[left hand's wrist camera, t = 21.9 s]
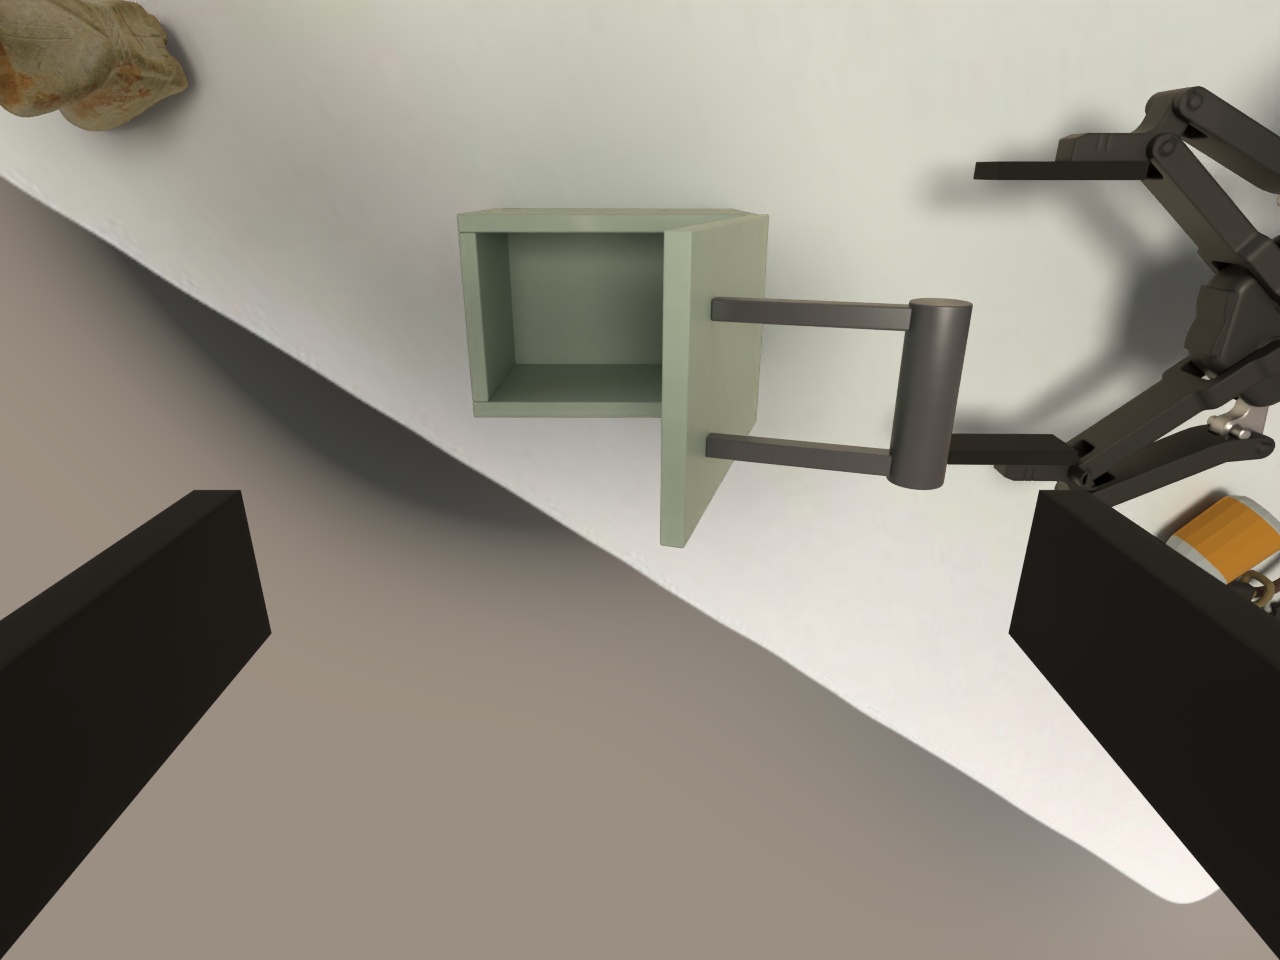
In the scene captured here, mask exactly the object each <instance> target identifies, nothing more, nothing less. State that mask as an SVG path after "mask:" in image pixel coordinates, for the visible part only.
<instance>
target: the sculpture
mask: <svg viewBox="0 0 1280 960" xmlns="http://www.w3.org/2000/svg"><path fill="white" fill-rule="evenodd" d="M167 41H168V38H167V35H166V33H165V31H164V30H163V28H162V26H161V25H160V23H159V21H158V20H157V18H156V17H155V16H153V15H150V14H147V12H146V11H145V10H144V8H143V7H142V6H141V5H139V4H137V3H134V2H130V1H123V0H0V105H1V106H2V107H3V108H4V109H5V110H7V111H8V112H10V113H12V114H14V115H16V116H20V117H34V116H39V115H42V114H46V113H49V112H53V111H55V110H57V109H59V110H60V111H61V113H62V115H63V116H64V117H65V118H66V119H67V120H68V121H69V122H70V123H72V124H74V125H75V126H77V127H79V128H82V129H84V130H88V131H103V130H108V129H112V128H115V127H118V126H120V125H122V124H124V123H126V122H128V121H130V120H132V119H133V118H135V117H136V116H138V115H139V114H141V113H143V112H144V111H146V110H147V109H148V108H150V107H151V106H152V105H154V104H155V103H157V102H158V101H160V100H162V99H164V98H166V97H169V96H171V95H173V94H179V93H181V92H183V91H184V90H185V89H186V88H187V87H188V81H187V78H186V75H185V73H184V70H183V68H182V66H181V64H180V62H179V61H178V60H177V59H175V58H174V57H173V56H171V55H170V54H169V52H168V51H167V49H166V47H165V45H166V43H167Z"/></svg>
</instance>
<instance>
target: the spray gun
mask: <svg viewBox="0 0 1280 960" xmlns="http://www.w3.org/2000/svg"><path fill="white" fill-rule="evenodd" d="M1166 544H1167V545H1168V546H1170V547H1171V548H1173V549H1174V550H1176V551H1177V552H1179V553H1180V554H1182V555H1183V556H1185V557H1186V558H1187V559H1189V560H1190V561H1192V562H1193V563H1195V564H1196V565H1198V566H1199V567H1201V568H1202V569H1204V570H1205V571H1207V572H1208V573H1210V574H1211V575H1213V576H1214V577H1216V578H1217V579H1219V580H1220V581H1222V582H1223V583H1225V584H1226V585H1228V586H1229V587H1230V588H1232V589H1233V590H1235V591H1236V592H1238V593H1239V594H1241V595H1242V596H1244V597H1245V598H1247V599H1248V600H1250V601H1251V600H1252V599H1253V598H1258V597H1260V598H1259V599H1258V600H1257V601H1255V602H1253V603H1254V604H1256V605H1257V606H1259V607H1260V608H1261V607H1263V606H1264V605H1266V604H1267V603H1268V602H1269V601H1270V600H1271V599H1272V597H1273V595H1274V594H1275V593H1277V592H1279V591H1280V578H1279V579H1277V580H1275V581H1273V582H1271V581H1270V580H1269V579H1268V578H1267V577H1266V576H1264V575H1262V574H1260V573H1258V572H1256V571H1254V570H1250V569H1251V568H1253V567H1254V566H1256V565H1257V564H1259V563H1260V562H1262V561H1263V560H1265V559H1266V558H1268V557H1269V556H1271V555H1272V554H1274V553H1275V552H1277V551H1278V550H1280V522H1279V521H1278V520H1277V519H1276V518H1275V517H1274V516H1273V515H1272V514H1270V513H1269V512H1268V511H1267V510H1266V509H1264V508H1263V507H1262V506H1260V505H1259V504H1258V503H1256V502H1255V501H1253V500H1252V499H1250V498H1248V497H1245V496H1232V495H1227V496H1224V497H1223V498H1222V499H1220V500H1219V501H1218V502H1216V503H1215V504H1214V505H1212V506H1211V507H1209V508H1208V509H1207V510H1205V511H1204V512H1203V513H1201V514H1200V515H1199V516H1197V517H1196V518H1195V519H1193V520H1192V521H1190V522H1189V523H1188V524H1186V525H1185V526H1184V527H1182V528H1181V529H1180V530H1178V531H1177V532H1176V533H1174V534H1173V535H1172V536H1171V537H1170V538H1169V540H1168V541H1167V542H1166ZM1248 570H1249V571H1248ZM1242 574H1243V575H1242ZM1241 575H1242V577H1241V579H1240V581H1239V582H1235V581H1233V580H1234V579H1236V578H1237V577H1239V576H1241ZM1252 577H1253V578H1255V579H1257V580H1258V581H1260V582H1261V583H1262V584H1263V585H1265V586H1261V587H1253V586H1251V585H1250V584H1249V581H1250V579H1251V578H1252ZM1271 615H1272V616H1274V617H1275V618H1276V619H1278V620H1279V621H1280V605H1278V604H1276V605H1274V606H1273V611H1272V612H1271Z"/></svg>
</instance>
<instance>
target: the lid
mask: <svg viewBox="0 0 1280 960" xmlns="http://www.w3.org/2000/svg"><path fill="white" fill-rule="evenodd" d="M768 225H769V215H756V214H752V215H747V216H741V217H736V218H731V219H725V220H720V221H714V222H709V223H703V224H698V225H692V226H687V227H681V228H676V229H671V230H666V231H664V270H663V350H662V430H661V510H660V544H661V545H663V546H670V547H678V548H684V547H685V545H686V543H687V541H688V540H689V538H690V536H691V534H692V533H693V531H694V529H695V527H696V526H697V524H698V522H699V520H700V519H701V517H702V515H703V513H704V512H705V510H706V508H707V506H708V505H709V503H710V501H711V499H712V498H713V496H714V494H715V492H716V490H717V489H718V487H719V485H720V483H721V482H722V480H723V478H724V476H725V475H726V473H727V471H728V469H729V468H730V466H731V464H732V462H733V461H734V460H738V461H747V462H757V463H766V464H776V465H786V466H795V467H805V468H814V469H824V470H834V471H843V472H853V473H862V474H872V475H881V476H886V477H887V479H888V481H890V482H891V483H893V484H895V485H898V486H901V487H904V488H909V489H916V490H931V489H936V488H939V487H941V486H942V485H943V483H944V478H945V472H946V465H947V459H948V453H949V447H950V441H951V435H952V429H953V423H954V417H955V411H956V405H957V398H958V392H959V386H960V380H961V374H962V368H963V362H964V356H965V350H966V344H967V338H968V332H969V325H970V319H971V313H972V307H973V305H972V303H970V302H967V301H962V300H955V299H943V298H920V299H913V300H910V302H909V305H906V304H882V303H858V302H835V301H811V300H788V299H764V290H765V274H766V257H767V241H768ZM762 324H778V325H797V326H816V327H836V328H855V329H874V330H894V331H905V337H904V345H903V352H902V360H901V367H900V375H899V382H898V390H897V398H896V405H895V413H894V420H893V428H892V435H891V443H890V449H879V448H868V447H858V446H847V445H837V444H826V443H816V442H805V441H795V440H784V439H773V438H763V437H752V436H748V434H749V433H750V431H751V429H752V427H753V426H754V424H755V422H756V419H757V403H758V387H759V371H760V355H761V338H762Z"/></svg>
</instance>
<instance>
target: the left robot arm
mask: <svg viewBox="0 0 1280 960" xmlns="http://www.w3.org/2000/svg"><path fill="white" fill-rule="evenodd" d="M270 634H271V629H270V624H269V620H268V615H267V610H266V606H265V601H264V597H263V592H262V587H261V582H260V578H259V573H258V568H257V564H256V559H255V555H254V550H253V545H252V541H251V536H250V531H249V527H248V522H247V517H246V513H245V508H244V503H243V499H242V494H241V490H193V491H192V492H190V493H189V494H188V495H186V496H185V497H183V498H182V499H180V500H179V501H177V502H176V503H174V504H173V505H171V506H170V507H168V508H167V509H165V510H164V511H162V512H161V513H159V514H158V515H156V516H155V517H153V518H152V519H150V520H149V521H147V522H146V523H145V524H143V525H141V526H140V527H139V528H137V529H136V530H134V531H133V532H131V533H130V534H128V535H127V536H125V537H124V538H122V539H121V540H119V541H118V542H116V543H115V544H113V545H112V546H110V547H109V548H107V549H106V550H104V551H103V552H102V553H100V554H99V555H97V556H96V557H94V558H93V559H91V560H90V561H88V562H87V563H85V564H84V565H82V566H81V567H79V568H78V569H76V570H75V571H73V572H72V573H70V574H69V575H67V576H66V577H64V578H63V579H61V580H60V581H58V582H57V583H55V584H54V585H53V586H51V587H49V588H48V589H47V590H45V591H44V592H42V593H41V594H39V595H38V596H36V597H35V598H33V599H32V600H30V601H29V602H27V603H26V604H24V605H23V606H21V607H20V608H18V609H17V610H15V611H14V612H12V613H11V614H9V615H8V616H7V617H5V618H4V619H2V620H1V621H0V960H1V958H2V957H3V956H4V955H5V954H6V952H7V951H8V950H9V949H10V948H11V946H12V945H13V944H14V943H15V942H16V940H17V939H18V938H19V937H20V935H21V934H22V933H23V932H24V931H25V929H26V928H27V927H28V926H29V925H30V923H31V922H32V921H33V920H34V919H35V917H36V916H37V915H38V914H39V913H40V911H41V910H42V909H43V908H44V907H45V905H46V904H47V903H48V902H49V901H50V899H51V898H52V897H53V896H54V895H55V893H56V892H57V891H58V890H59V889H60V887H61V886H62V885H63V884H64V883H65V881H66V880H67V879H68V878H69V877H70V875H71V874H72V873H73V872H74V871H75V869H76V868H77V867H78V866H79V864H80V863H81V862H82V861H83V860H84V858H85V857H86V856H87V855H88V854H89V852H90V851H91V850H92V849H93V848H94V846H95V845H96V844H97V843H98V842H99V840H100V839H101V838H102V837H103V836H104V834H105V833H106V832H107V831H108V830H109V828H110V827H111V826H112V825H113V824H114V822H115V821H116V820H117V819H118V818H119V816H120V815H121V814H122V813H123V812H124V810H125V809H126V808H127V807H128V805H129V804H130V803H131V802H132V801H133V799H134V798H135V797H136V796H137V795H138V793H139V792H140V791H141V790H142V789H143V787H144V786H145V785H146V784H147V782H148V781H149V780H150V779H151V778H152V777H153V775H154V774H155V773H156V772H157V771H158V769H159V768H160V767H161V766H162V765H163V763H164V762H165V761H166V760H167V759H168V757H169V756H170V755H171V754H172V752H173V751H174V750H175V749H176V748H177V746H178V745H179V744H180V743H181V742H182V740H183V739H184V738H185V737H186V736H187V734H188V733H189V732H190V731H191V730H192V728H193V727H194V726H195V725H196V724H197V722H198V721H199V720H200V719H201V718H202V716H203V715H204V714H205V713H206V711H207V710H208V709H209V708H210V707H211V706H212V704H213V703H214V702H215V701H216V700H217V698H218V697H219V696H220V695H221V693H222V692H223V691H224V690H225V689H226V687H227V686H228V685H229V684H230V683H231V681H232V680H233V679H234V678H235V677H236V675H237V674H238V673H239V672H240V670H241V669H242V668H243V667H244V666H245V665H246V663H247V662H248V661H249V660H250V658H251V657H252V656H253V655H254V654H255V652H256V651H257V650H258V649H259V648H260V647H261V645H262V644H263V643H264V642H265V640H266V639H267V638H268V637H269V636H270ZM1009 634H1010V636H1011V637H1012V638H1013V639H1014V640H1015V642H1016V643H1017V644H1018V645H1019V647H1020V648H1021V649H1022V650H1023V651H1024V653H1025V654H1026V655H1027V656H1028V657H1029V659H1030V660H1031V661H1032V662H1033V663H1034V665H1035V666H1036V667H1037V668H1038V669H1039V671H1040V672H1041V673H1042V674H1043V675H1044V677H1045V678H1046V679H1047V680H1048V681H1049V683H1050V684H1051V685H1052V686H1053V687H1054V689H1055V690H1056V691H1057V692H1058V693H1059V695H1060V696H1061V697H1062V698H1063V700H1064V701H1065V702H1066V703H1067V704H1068V706H1069V707H1070V708H1071V709H1072V710H1073V712H1074V713H1075V714H1076V715H1077V716H1078V718H1079V719H1080V720H1081V721H1082V722H1083V724H1084V725H1085V726H1086V727H1087V728H1088V730H1089V731H1090V732H1091V733H1092V734H1093V736H1094V737H1095V738H1096V739H1097V740H1098V742H1099V743H1100V744H1101V745H1102V746H1103V748H1104V749H1105V750H1106V751H1107V753H1108V754H1109V755H1110V756H1111V757H1112V759H1113V760H1114V761H1115V762H1116V763H1117V765H1118V766H1119V767H1120V768H1121V769H1122V771H1123V772H1124V773H1125V774H1126V775H1127V777H1128V778H1129V779H1130V780H1131V781H1132V783H1133V784H1134V785H1135V786H1136V787H1137V789H1138V790H1139V791H1140V792H1141V793H1142V795H1143V796H1144V797H1145V798H1146V799H1147V801H1148V802H1149V803H1150V804H1151V805H1152V807H1153V808H1154V809H1155V810H1156V812H1157V813H1158V814H1159V815H1160V816H1161V818H1162V819H1163V820H1164V821H1165V822H1166V824H1167V825H1168V826H1169V827H1170V828H1171V830H1172V831H1173V832H1174V833H1175V834H1176V836H1177V837H1178V838H1179V839H1180V840H1181V842H1182V843H1183V844H1184V845H1185V846H1186V848H1187V849H1188V850H1189V851H1190V852H1191V854H1192V855H1193V856H1194V857H1195V858H1196V860H1197V861H1198V862H1199V863H1200V865H1201V866H1202V867H1203V868H1204V869H1205V871H1206V872H1207V873H1208V874H1209V875H1210V877H1211V878H1212V879H1213V880H1214V881H1215V883H1216V884H1217V885H1218V886H1219V887H1220V889H1221V890H1222V891H1223V892H1224V893H1225V895H1226V896H1227V897H1228V898H1229V899H1230V901H1231V902H1232V903H1233V904H1234V905H1235V907H1236V908H1237V909H1238V910H1239V911H1240V913H1241V914H1242V915H1243V916H1244V917H1245V919H1246V920H1247V921H1248V922H1249V923H1250V925H1251V926H1252V927H1253V928H1254V930H1255V931H1256V932H1257V933H1258V934H1259V936H1260V937H1261V938H1262V939H1263V940H1264V942H1265V943H1266V944H1267V945H1268V946H1269V948H1270V949H1271V950H1272V951H1273V952H1274V954H1275V955H1276V956H1277V957H1278V958H1279V960H1280V621H1279V620H1278V619H1276V618H1275V617H1274V616H1272V615H1271V614H1269V613H1268V612H1266V611H1265V610H1263V609H1262V608H1260V607H1259V606H1257V605H1256V604H1254V603H1253V602H1251V601H1250V600H1248V599H1247V598H1245V597H1244V596H1242V595H1241V594H1239V593H1238V592H1236V591H1235V590H1233V589H1232V588H1230V587H1229V586H1228V585H1226V584H1225V583H1223V582H1222V581H1220V580H1219V579H1217V578H1216V577H1214V576H1213V575H1211V574H1210V573H1208V572H1207V571H1205V570H1204V569H1202V568H1201V567H1199V566H1198V565H1196V564H1195V563H1193V562H1192V561H1190V560H1189V559H1187V558H1186V557H1185V556H1183V555H1182V554H1180V553H1179V552H1177V551H1176V550H1174V549H1173V548H1171V547H1170V546H1168V545H1167V544H1165V543H1164V542H1162V541H1161V540H1159V539H1158V538H1156V537H1155V536H1153V535H1152V534H1150V533H1149V532H1147V531H1146V530H1144V529H1143V528H1141V527H1140V526H1139V525H1137V524H1136V523H1134V522H1133V521H1131V520H1130V519H1128V518H1127V517H1125V516H1124V515H1122V514H1121V513H1119V512H1118V511H1116V510H1115V509H1113V508H1112V507H1110V506H1109V505H1107V504H1106V503H1104V502H1103V501H1101V500H1100V499H1098V498H1097V497H1095V496H1094V495H1093V494H1091V493H1090V492H1088V491H1087V490H1039V494H1038V499H1037V503H1036V508H1035V513H1034V517H1033V522H1032V527H1031V531H1030V536H1029V540H1028V545H1027V550H1026V554H1025V559H1024V564H1023V568H1022V573H1021V578H1020V582H1019V587H1018V592H1017V596H1016V601H1015V606H1014V610H1013V615H1012V620H1011V624H1010V629H1009Z"/></svg>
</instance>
